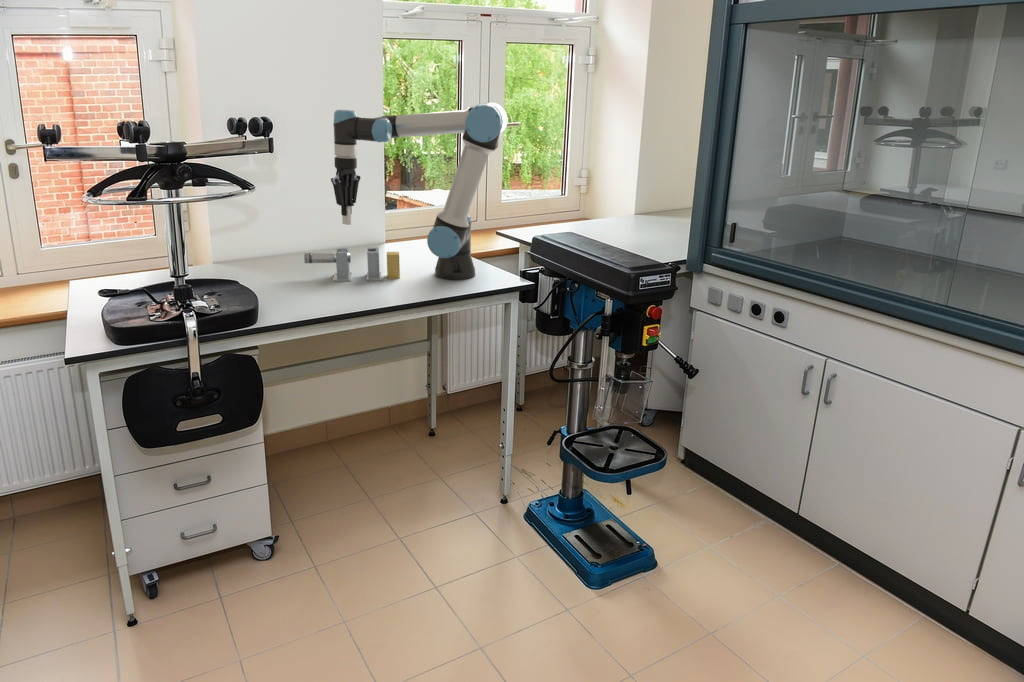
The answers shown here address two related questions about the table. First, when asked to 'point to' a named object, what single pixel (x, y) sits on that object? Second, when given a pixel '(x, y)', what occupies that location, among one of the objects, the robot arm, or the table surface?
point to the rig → (343, 265)
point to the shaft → (322, 257)
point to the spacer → (393, 265)
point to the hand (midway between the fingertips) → (346, 224)
